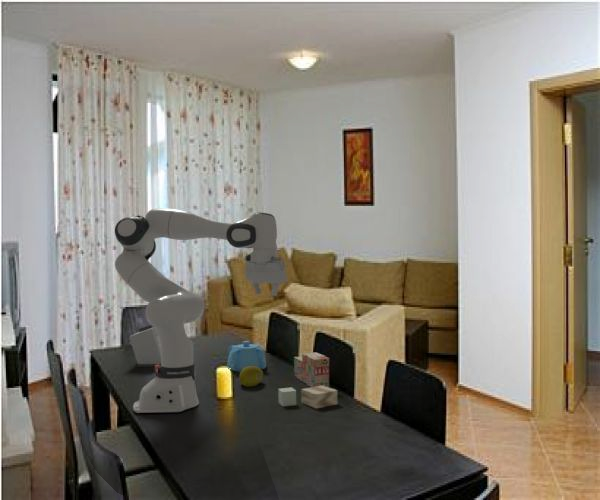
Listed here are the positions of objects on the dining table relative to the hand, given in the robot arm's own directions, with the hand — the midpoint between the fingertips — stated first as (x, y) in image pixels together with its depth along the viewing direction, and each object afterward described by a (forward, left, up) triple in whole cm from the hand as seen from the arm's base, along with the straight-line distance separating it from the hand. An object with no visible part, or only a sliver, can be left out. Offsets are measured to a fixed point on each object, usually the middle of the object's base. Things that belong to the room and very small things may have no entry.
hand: (265, 294), depth 223 cm
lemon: (-4, +16, -37) cm, 41 cm away
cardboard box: (+19, +14, -37) cm, 44 cm away
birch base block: (+16, -14, -37) cm, 43 cm away
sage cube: (+5, -11, -37) cm, 39 cm away
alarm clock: (-42, +63, -37) cm, 85 cm away
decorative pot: (-3, +41, -37) cm, 56 cm away
